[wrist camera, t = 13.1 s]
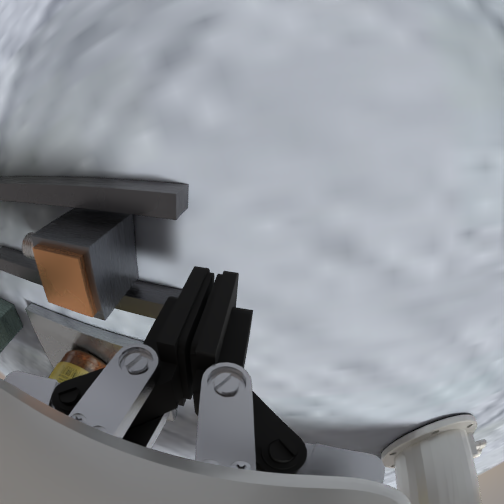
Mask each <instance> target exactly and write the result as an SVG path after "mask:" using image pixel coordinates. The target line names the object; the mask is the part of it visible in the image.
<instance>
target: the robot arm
mask: <svg viewBox="0 0 504 504" xmlns="http://www.w3.org/2000/svg"><path fill="white" fill-rule="evenodd" d="M238 276H239V274H238V273H235V272H228V271H224V272H223V275H222V274H218V275H217V277H216V280H215V282H214V273H210V270H209V268H202V267H196V266H195V267H194V268H193V270H192V272H191V274H190V276H189V278H188V280H187V282H186V283H185V285H184V287H183V289H182V291H181V293H180V295H179V297H172V296H170V297H168V299H167V300H166V302H165V304H164V306H163V307H162V309H161V311H160V313H159V315H158V317H157V318H156V320H155V322H154V324H153V326H152V328H151V330H150V332H149V333H148V335H147V337H146V339H145V341H144V343H143V344H130V345H127V346H125V347H123V348H121V349H120V350H119V351H118V352H117V353H116V354H115V356H114V357H113V358H112V359H111V361H110V362H109V363H108V364H107V366H106V367H104V368H101V369H99V370H96V371H93V372H90V373H87V374H84V375H81V376H78V377H75V378H72V379H69V380H66V381H63V382H61V383H58V381H57V380H55V379H50V378H46V377H41V376H37V375H33V374H29V373H25V372H21V371H14V372H11V373H9V374H8V375H7V376H6V378H5V379H4V380H2V379H0V504H482V500H481V494H480V488H479V483H478V477H477V473H476V468H475V463H474V458H477V457H479V456H480V454H481V452H482V449H483V448H485V446H486V440H485V439H482V440H479V441H476V442H475V441H474V437H473V433H474V432H475V430H476V428H477V421H476V418H475V417H474V416H472V415H457V416H453V417H449V418H445V419H442V420H439V421H436V422H434V423H431V424H429V425H426V426H424V427H421V428H419V429H417V430H415V431H413V432H411V433H409V434H407V435H405V436H403V437H401V438H399V439H398V440H396V441H395V442H393V443H392V444H390V445H389V446H388V447H387V448H386V449H385V450H384V451H383V452H382V454H381V459H380V458H379V457H377V456H376V455H373V454H370V453H364V452H358V451H352V450H347V449H342V448H337V447H332V446H328V445H323V444H319V443H316V444H315V445H313V444H309V443H305V442H303V441H302V439H301V438H300V437H299V436H298V435H297V434H295V433H294V432H293V431H292V430H291V429H290V428H289V427H288V426H287V425H286V424H285V423H284V422H283V421H282V420H281V419H280V418H279V417H278V416H277V415H276V414H275V413H274V412H273V411H272V410H271V409H270V408H269V407H268V406H267V405H266V404H265V403H264V402H263V401H262V400H261V399H260V398H259V397H258V396H257V395H256V394H255V393H254V392H253V391H252V381H251V376H250V375H249V373H248V372H247V371H246V370H245V369H244V364H245V359H246V353H247V347H248V341H249V335H250V328H251V321H252V314H253V310H248V309H242V308H236V299H237V287H238ZM192 395H193V399H194V407H195V413H196V414H197V415H198V427H197V440H196V454H195V460H190V459H186V458H182V457H178V456H174V455H171V454H167V453H163V452H160V451H157V450H153V449H151V448H152V447H153V445H154V443H155V441H156V439H157V437H158V436H159V434H160V432H161V430H162V428H163V426H164V425H165V423H166V421H167V419H168V417H169V414H170V411H172V410H174V409H176V408H177V407H178V405H182V406H184V404H185V401H186V399H191V398H192ZM384 466H385V467H389V468H395V474H396V484H397V489H395V488H393V487H391V486H389V485H385V484H383V480H384V474H385V467H384Z"/></svg>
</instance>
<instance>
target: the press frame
mask: <svg viewBox="0 0 504 504" xmlns="http://www.w3.org/2000/svg"><path fill="white" fill-rule="evenodd" d="M0 200H4V201H15V202H25V203H35V204H45V205H55V206H65V207H74V208H83V209H92V210H101V211H109V212H118V213H126V214H134V215H142V216H150V217H158V218H166V219H173V220H176V219H177V218H178V217H179V216H180V215H181V214H182V213H183V212H184V211H185V210H186V209H187V208H188V184H179V183H168V182H156V181H144V180H129V179H112V178H92V177H58V176H10V177H0ZM0 270H3V271H5V272H8V273H10V274H13V275H15V276H18V277H20V278H23V279H26V280H28V281H31V282H34V283H37V284H39V285H42V286H43V284H42V281H41V278H40V275H39V271H38V268H37V264H36V260H33V259H30V258H27V257H26V256H25V255H24V254H23V252H21V251H17V250H14V249H10V248H7V247H4V246H2V247H1V248H0ZM181 291H182V290H181V289H176V288H171V287H166V286H161V285H156V284H151V283H147V282H142V281H137V280H136V281H135V283H134V284H133V285H132V286H131V288H130V289H129V290H128V291H127V293H126V294H125V295H124V297H123V298H122V299H121V300H120V302H119V303H118V304H117V306H116V307H115V308H116V309H120V310H123V311H127V312H131V313H135V314H139V315H143V316H147V317H151V318H155V319H156V318H157V317H158V315H159V313H160V311H161V309H162V307H163V306H164V304H165V302H166V300H167V299H168V297H170V296H172V297H179V295H180V293H181ZM25 310H26V312H27V314H28V317H29V319H30V321H31V324H32V326H33V328H34V330H35V332H36V335H37V337H38V339H39V341H40V343H41V345H42V347H43V349H44V351H45V353H46V355H47V357H48V358H49V360H50V362H51V364H52V366H53V368H55V367H56V365H57V364H58V363H59V362H60V361H61V360H62V358H63V357H64V355H65V354H66V353H67V352H68V351H71V350H81V351H84V352H87V353H89V354H91V355H93V356H95V357H96V358H98V359H99V360H101V361H102V362H103V363H105V364H106V365H107V364H108V363H109V362H110V361H111V359H112V358H113V357H114V356H115V354H116V353H117V352H118V351H119V350H120V349H121V348H123V347H125V346H127V345H130V344H143V343H144V342H143V341H139V340H135V339H132V338H129V337H125V336H122V335H118V334H115V333H112V332H109V331H106V330H103V329H100V328H97V327H94V326H91V325H88V324H85V323H82V322H79V321H76V320H74V319H71V318H68V317H65V316H63V315H60V314H58V313H55V312H52V311H50V310H47V309H45V308H42V307H40V306H38V305H35V304H33V303H31V304H30V305H29V306H28V307H27V308H26V309H25ZM22 327H23V325H22V323H21V321H20V318H19V316H18V314H17V312H16V309H15V307H14V305H13V304H11V303H9V302H7V301H5V300H3V299H1V298H0V353H1V352H2V350H3V349H4V348H5V347H6V346H7V345H8V343H9V342H10V341H11V340H12V339H13V338H14V336H15V335H16V334H17V333H18V332H19V331H20V330H21V328H22ZM176 415H177V412H176V409H174V410H172V411H170V414H169V417H168V419H167V420H170V421H174V420H175V418H176Z"/></svg>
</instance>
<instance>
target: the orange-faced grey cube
mask: <svg viewBox="0 0 504 504" xmlns="http://www.w3.org/2000/svg"><path fill="white" fill-rule="evenodd" d="M22 251H23V254H24V255H25V256H26V257H27V258H30V259H33V260H36V264H37V268H38V271H39V275H40V278H41V281H42V284H43V287H44V290H45V293H46V296H47V299H48V302H50V303H53V304H56V305H58V306H61V307H64V308H67V309H69V310H72V311H75V312H78V313H81V314H84V315H87V316H90V317H95V318H99V319H102V320H106V319H107V317H108V316H109V315H110V313H111V312H112V311H113V310H114V308H115V307H116V306H117V304H118V303H119V302H120V300H121V299H122V298H123V297H124V295H125V294H126V293H127V291H128V290H129V289H130V288H131V286H132V285H133V284H134V283H135V281H136V280H137V279H138V278H139V275H138V266H137V257H136V248H135V237H134V224H133V214H126V213H118V212H109V211H101V210H92V209H83V208H74V209H72V210H70V211H69V212H67V213H65V214H64V215H62V216H60V217H59V218H57V219H56V220H54V221H52V222H51V223H49V224H48V225H46V226H45V227H43V228H42V229H40V230H39V231H37V232H36V233H33V232H30V233H28V234H27V235H26V236H25V238H24V240H23V243H22Z"/></svg>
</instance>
